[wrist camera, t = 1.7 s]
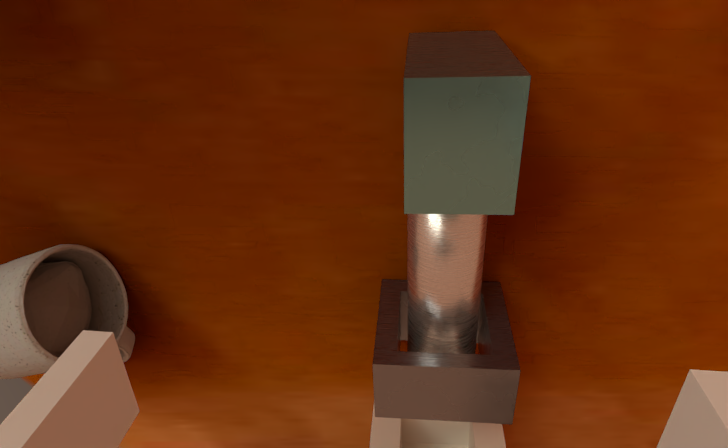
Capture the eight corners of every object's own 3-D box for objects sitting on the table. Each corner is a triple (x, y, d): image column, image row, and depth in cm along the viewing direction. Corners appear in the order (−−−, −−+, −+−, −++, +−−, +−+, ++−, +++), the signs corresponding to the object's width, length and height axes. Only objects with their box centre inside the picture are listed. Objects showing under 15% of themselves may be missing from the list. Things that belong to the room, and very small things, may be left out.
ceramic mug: (-11, 253, 34) (-113, 331, 28) (81, 220, 32) (-6, 295, 26) (85, 360, 39) (17, 448, 32) (171, 337, 37) (117, 426, 30)
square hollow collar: (382, 279, 32) (372, 364, 26) (500, 282, 31) (520, 370, 25) (383, 327, 34) (375, 417, 28) (494, 330, 33) (512, 424, 27)
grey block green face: (409, 33, 24) (403, 78, 16) (494, 30, 24) (530, 75, 16) (408, 339, 34) (404, 460, 26) (468, 342, 33) (483, 465, 25)
